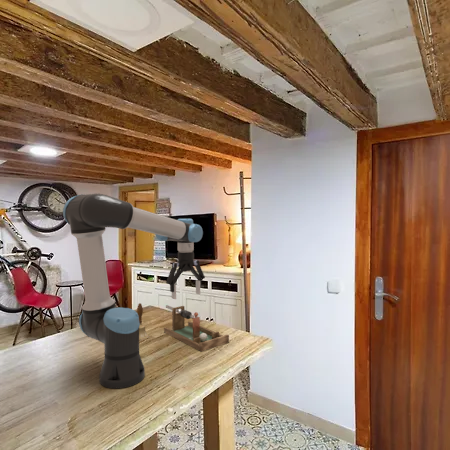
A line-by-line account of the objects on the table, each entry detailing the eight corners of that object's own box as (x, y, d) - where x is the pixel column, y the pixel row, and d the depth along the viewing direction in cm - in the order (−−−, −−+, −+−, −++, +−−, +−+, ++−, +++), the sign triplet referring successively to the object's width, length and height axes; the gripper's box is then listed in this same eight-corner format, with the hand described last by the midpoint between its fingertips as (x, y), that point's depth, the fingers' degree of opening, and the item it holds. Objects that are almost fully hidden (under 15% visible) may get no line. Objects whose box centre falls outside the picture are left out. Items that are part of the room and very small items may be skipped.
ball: (202, 343, 145) (202, 335, 145) (197, 340, 148) (197, 333, 148) (209, 341, 148) (209, 333, 147) (204, 339, 150) (204, 331, 150)
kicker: (194, 338, 150) (194, 313, 150) (164, 323, 171) (163, 301, 170) (200, 336, 152) (200, 312, 152) (169, 322, 173) (169, 300, 173)
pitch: (201, 354, 136) (200, 325, 136) (164, 334, 159) (163, 309, 159) (228, 345, 146) (228, 318, 146) (190, 327, 169) (190, 304, 169)
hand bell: (151, 334, 159) (151, 301, 159) (145, 341, 151) (145, 306, 151) (134, 334, 160) (134, 301, 160) (127, 340, 152) (127, 305, 152)
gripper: (166, 254, 146) (167, 302, 147) (211, 249, 162) (212, 293, 163) (158, 252, 152) (158, 299, 153) (202, 248, 168) (202, 290, 169)
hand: (186, 296), depth 158 cm, fingers open, 13 cm apart
